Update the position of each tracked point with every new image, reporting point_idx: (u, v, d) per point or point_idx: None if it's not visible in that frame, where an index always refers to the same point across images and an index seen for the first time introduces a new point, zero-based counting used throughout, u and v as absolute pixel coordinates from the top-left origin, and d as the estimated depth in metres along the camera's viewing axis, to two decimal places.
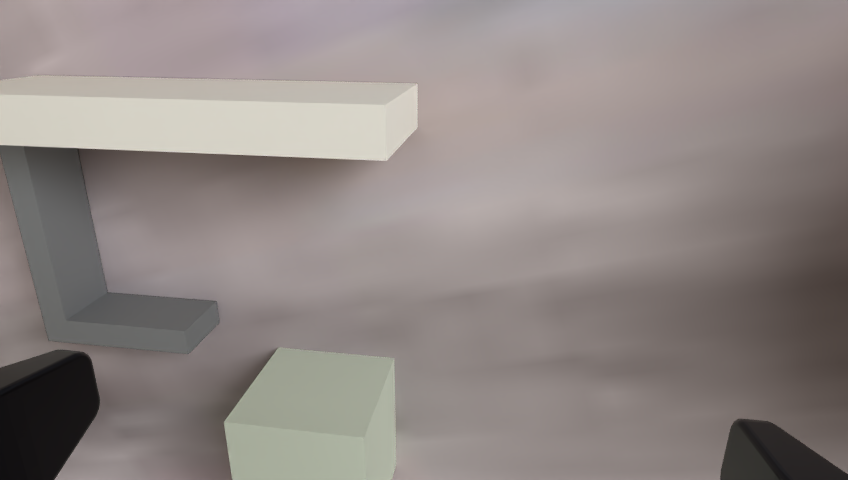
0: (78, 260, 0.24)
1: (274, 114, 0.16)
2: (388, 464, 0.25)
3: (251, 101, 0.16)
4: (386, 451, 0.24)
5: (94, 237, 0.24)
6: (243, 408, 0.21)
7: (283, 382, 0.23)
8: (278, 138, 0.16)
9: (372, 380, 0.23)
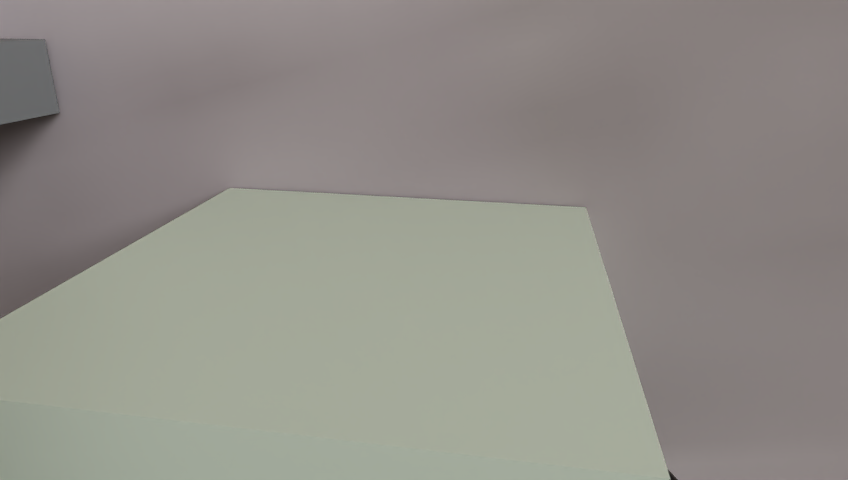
0: None
1: None
2: None
3: None
4: None
5: None
6: (20, 332, 0.05)
7: (224, 255, 0.06)
8: None
9: (552, 253, 0.06)
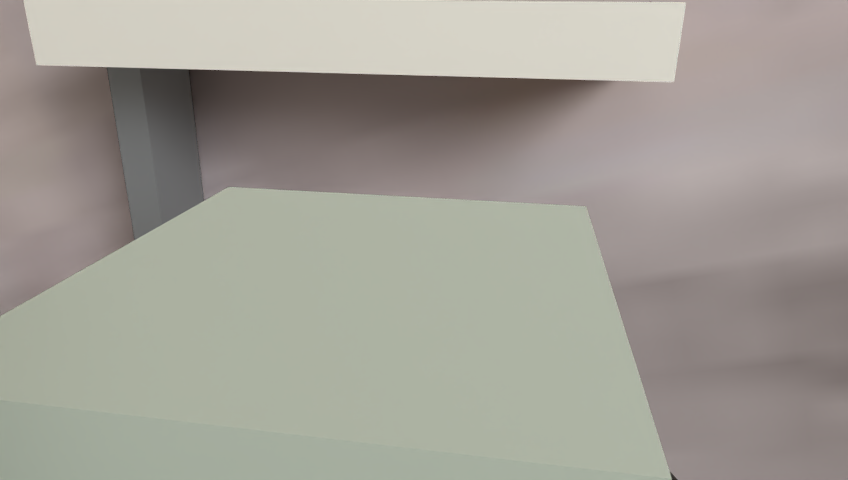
0: None
1: (523, 18, 0.12)
2: None
3: (492, 1, 0.12)
4: None
5: None
6: (18, 330, 0.05)
7: (222, 255, 0.06)
8: (523, 53, 0.12)
9: (552, 252, 0.06)
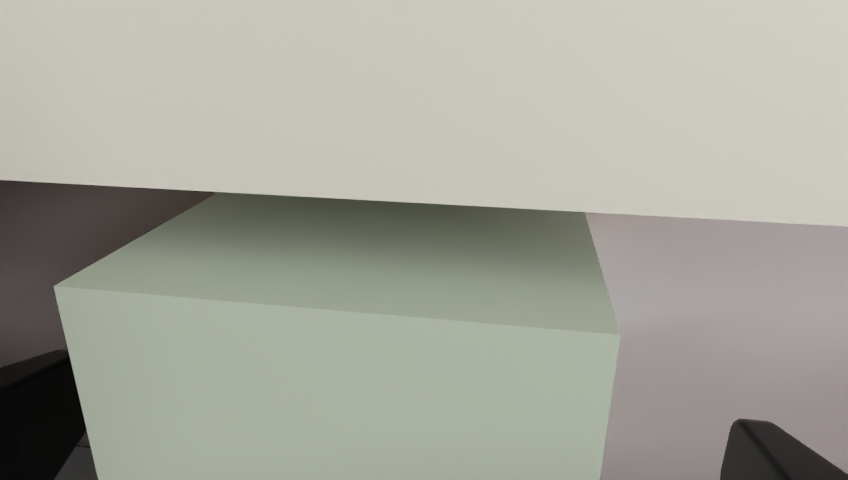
0: None
1: (498, 40, 0.04)
2: None
3: None
4: None
5: None
6: (140, 256, 0.06)
7: (279, 209, 0.08)
8: (500, 138, 0.04)
9: None
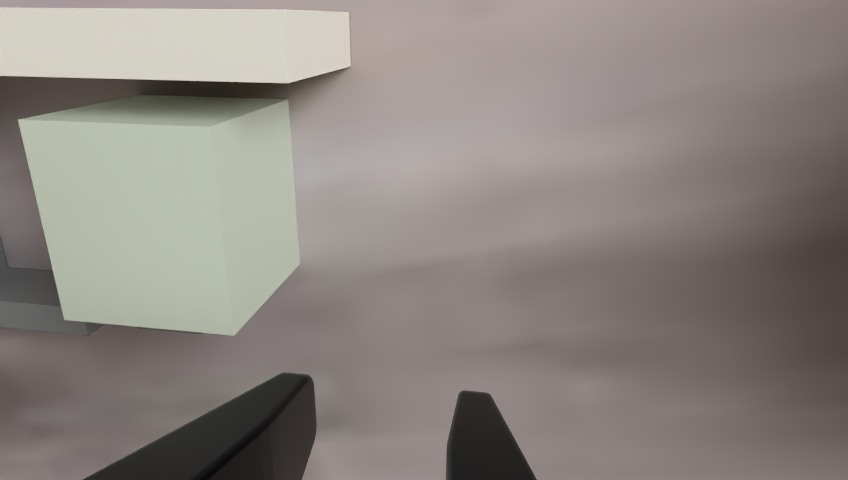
0: None
1: (149, 25, 0.13)
2: (280, 243, 0.18)
3: (121, 9, 0.13)
4: (274, 218, 0.18)
5: None
6: (54, 115, 0.15)
7: (125, 106, 0.17)
8: (155, 56, 0.13)
9: (249, 106, 0.17)
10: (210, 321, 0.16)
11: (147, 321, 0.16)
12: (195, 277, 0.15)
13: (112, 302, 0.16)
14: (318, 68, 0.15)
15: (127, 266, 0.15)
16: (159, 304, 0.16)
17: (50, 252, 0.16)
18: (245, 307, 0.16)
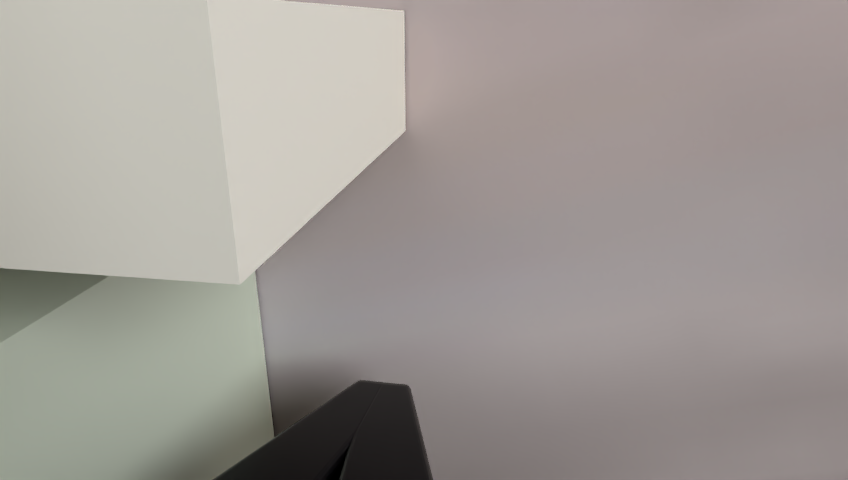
0: None
1: None
2: None
3: None
4: (214, 461, 0.08)
5: None
6: None
7: None
8: None
9: None
10: None
11: None
12: None
13: None
14: (343, 170, 0.05)
15: None
16: None
17: None
18: None
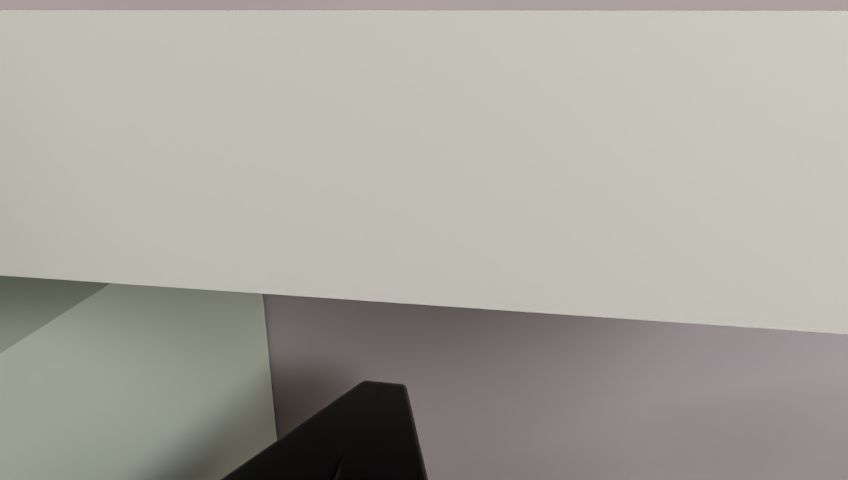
0: None
1: None
2: None
3: (767, 14, 0.03)
4: (219, 461, 0.08)
5: None
6: None
7: None
8: None
9: None
10: None
11: None
12: None
13: None
14: None
15: None
16: None
17: None
18: None
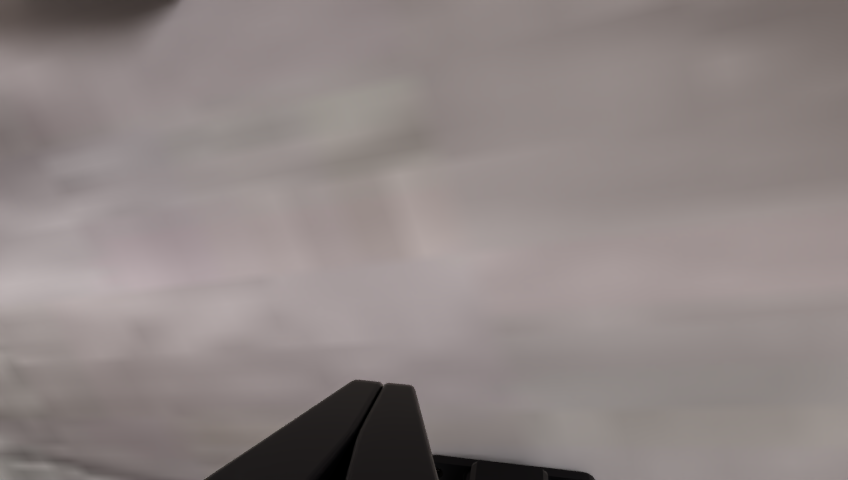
0: None
1: None
2: None
3: None
4: None
5: None
6: None
7: None
8: None
9: None
10: None
11: None
12: None
13: None
14: None
15: None
16: None
17: None
18: None
